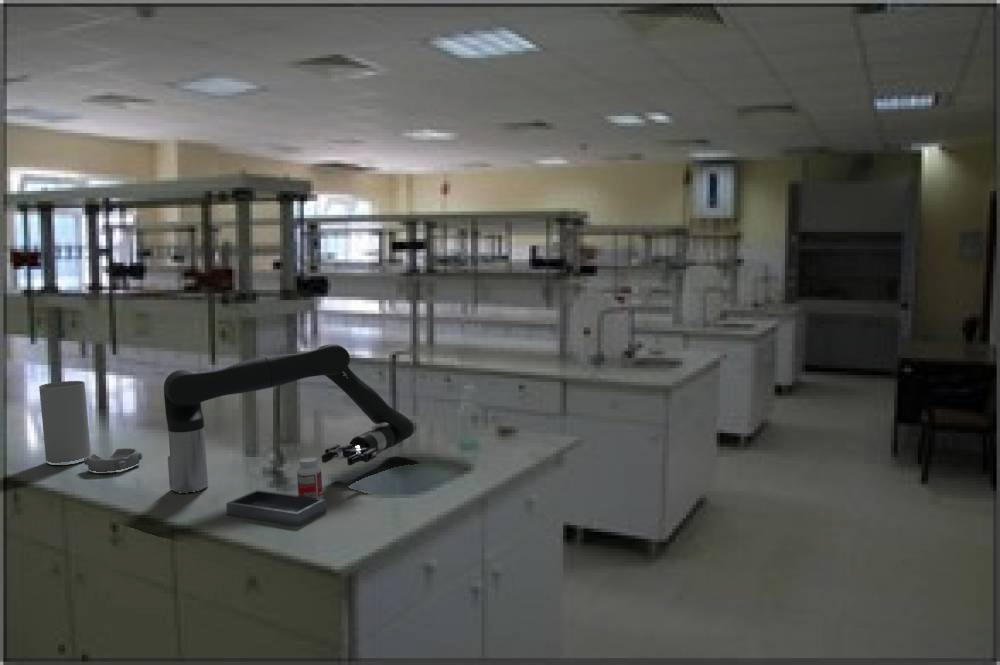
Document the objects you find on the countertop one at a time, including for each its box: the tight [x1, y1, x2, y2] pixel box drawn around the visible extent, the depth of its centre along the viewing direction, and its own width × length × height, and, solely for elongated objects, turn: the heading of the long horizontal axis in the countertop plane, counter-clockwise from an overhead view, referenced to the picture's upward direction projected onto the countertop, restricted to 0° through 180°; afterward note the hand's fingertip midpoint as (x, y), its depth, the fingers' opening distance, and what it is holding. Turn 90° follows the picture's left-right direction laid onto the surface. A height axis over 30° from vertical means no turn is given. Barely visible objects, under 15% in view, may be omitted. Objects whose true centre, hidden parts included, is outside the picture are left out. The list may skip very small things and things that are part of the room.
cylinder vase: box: [38, 380, 92, 463], centre depth 237 cm, size 12×12×25 cm
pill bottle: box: [296, 456, 324, 499], centre depth 196 cm, size 6×6×11 cm
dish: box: [83, 447, 143, 472], centre depth 229 cm, size 14×14×5 cm
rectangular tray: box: [225, 489, 327, 527], centre depth 187 cm, size 22×11×3 cm, turn 67°
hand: (335, 460), depth 206 cm, fingers open, 8 cm apart
